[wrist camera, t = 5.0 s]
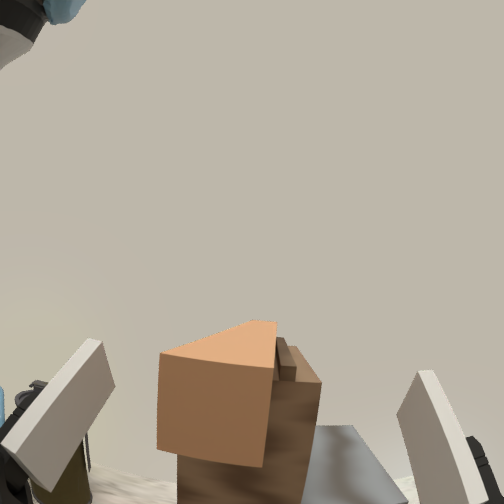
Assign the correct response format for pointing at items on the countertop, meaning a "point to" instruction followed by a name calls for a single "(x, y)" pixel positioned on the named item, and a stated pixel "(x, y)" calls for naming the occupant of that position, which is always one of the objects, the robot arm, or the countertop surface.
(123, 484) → the countertop surface
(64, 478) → the canister
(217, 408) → the terracotta bar
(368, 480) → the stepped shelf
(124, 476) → the countertop surface
